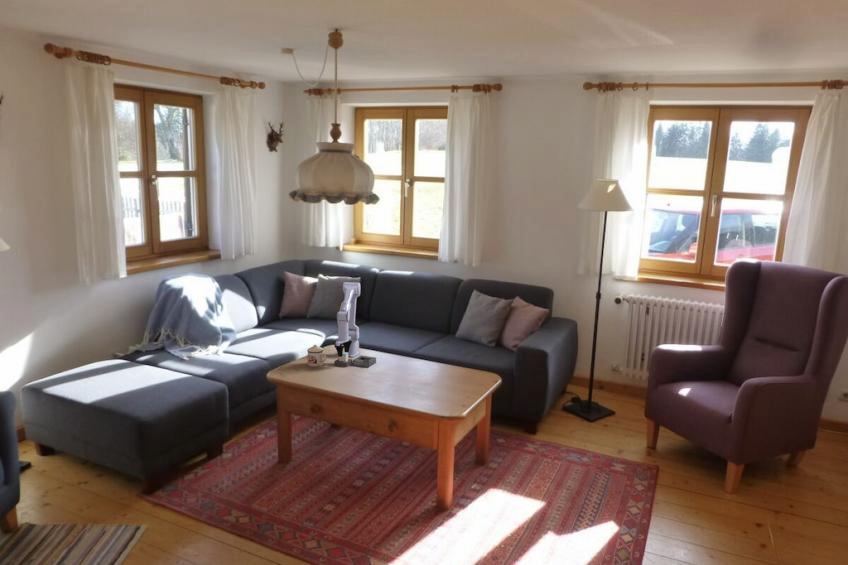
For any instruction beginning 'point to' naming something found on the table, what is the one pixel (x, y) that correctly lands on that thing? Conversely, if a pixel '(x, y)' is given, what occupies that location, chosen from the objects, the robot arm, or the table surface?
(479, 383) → the table surface
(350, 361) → the grey hollow square frame
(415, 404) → the table surface
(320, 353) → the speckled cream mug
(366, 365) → the port
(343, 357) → the plug
